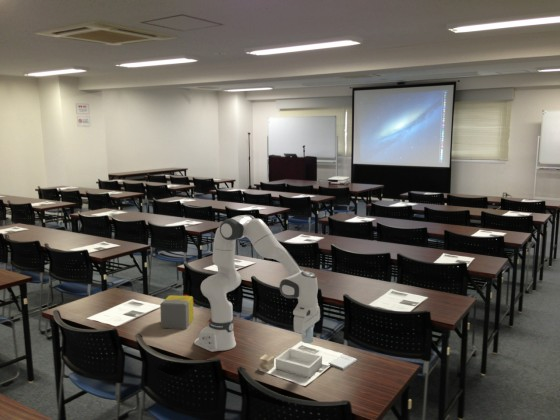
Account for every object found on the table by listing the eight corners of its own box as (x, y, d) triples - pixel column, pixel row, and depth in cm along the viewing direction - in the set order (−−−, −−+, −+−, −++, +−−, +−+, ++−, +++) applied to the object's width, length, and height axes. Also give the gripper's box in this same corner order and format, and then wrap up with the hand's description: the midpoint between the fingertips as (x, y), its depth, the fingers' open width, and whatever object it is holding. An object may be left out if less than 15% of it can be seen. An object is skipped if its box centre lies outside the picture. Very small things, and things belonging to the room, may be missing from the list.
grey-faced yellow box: (198, 314, 288) (197, 290, 286) (186, 329, 264) (185, 304, 262) (174, 313, 289) (174, 290, 287) (160, 328, 265) (159, 303, 263)
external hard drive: (328, 365, 223) (342, 356, 232) (343, 371, 217) (357, 361, 227) (328, 362, 222) (342, 353, 232) (343, 368, 217) (357, 358, 226)
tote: (275, 368, 218) (275, 358, 217) (289, 357, 230) (289, 347, 229) (309, 378, 209) (309, 368, 209) (321, 366, 221) (322, 356, 220)
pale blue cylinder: (300, 341, 214) (300, 327, 214) (305, 337, 219) (305, 323, 218) (309, 344, 212) (310, 329, 211) (314, 340, 216) (314, 325, 215)
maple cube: (259, 368, 219) (259, 358, 218) (265, 364, 223) (265, 354, 222) (268, 371, 216) (268, 360, 216) (274, 366, 221) (274, 356, 220)
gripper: (311, 299, 224) (311, 326, 226) (291, 312, 206) (291, 342, 208) (323, 301, 220) (323, 329, 222) (303, 315, 203) (303, 345, 205)
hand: (307, 335), depth 215 cm, fingers closed on pale blue cylinder, 5 cm apart
